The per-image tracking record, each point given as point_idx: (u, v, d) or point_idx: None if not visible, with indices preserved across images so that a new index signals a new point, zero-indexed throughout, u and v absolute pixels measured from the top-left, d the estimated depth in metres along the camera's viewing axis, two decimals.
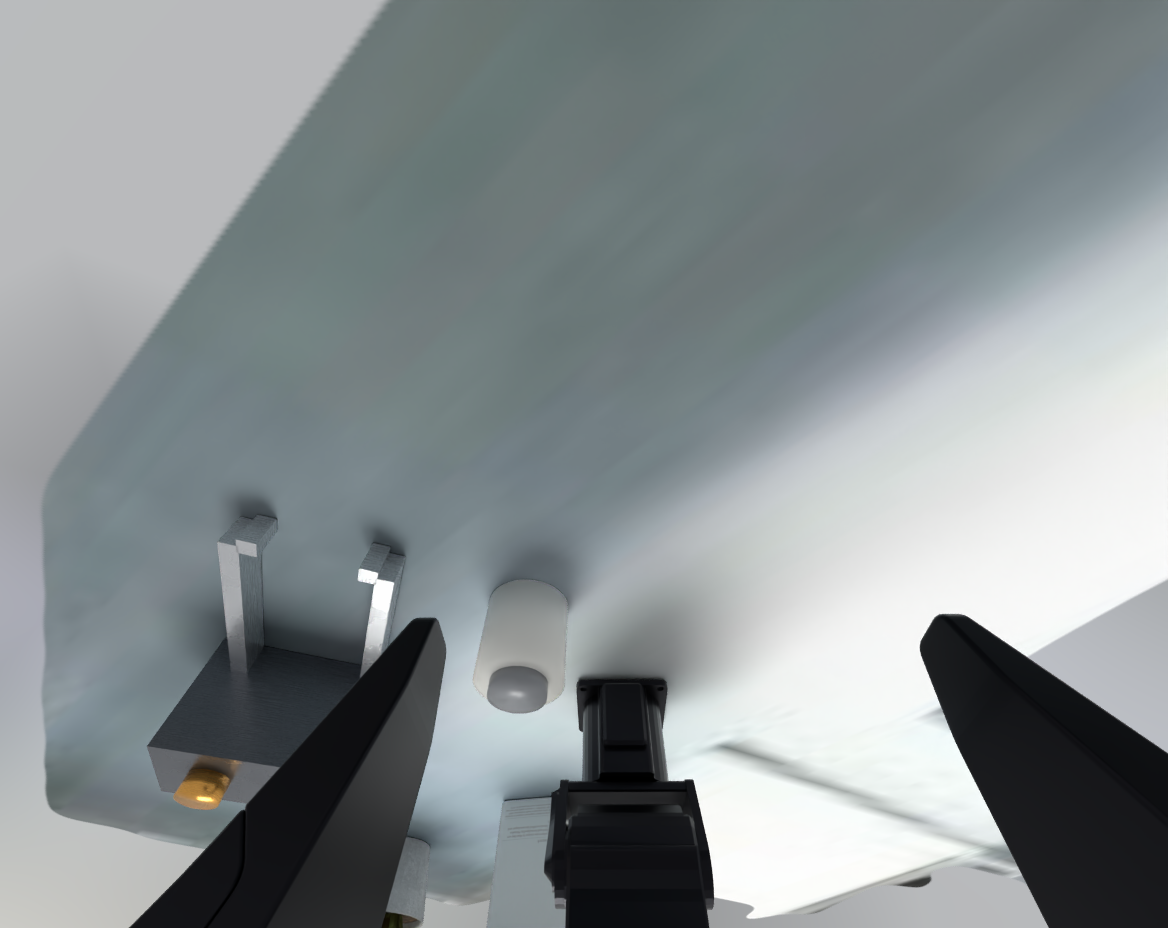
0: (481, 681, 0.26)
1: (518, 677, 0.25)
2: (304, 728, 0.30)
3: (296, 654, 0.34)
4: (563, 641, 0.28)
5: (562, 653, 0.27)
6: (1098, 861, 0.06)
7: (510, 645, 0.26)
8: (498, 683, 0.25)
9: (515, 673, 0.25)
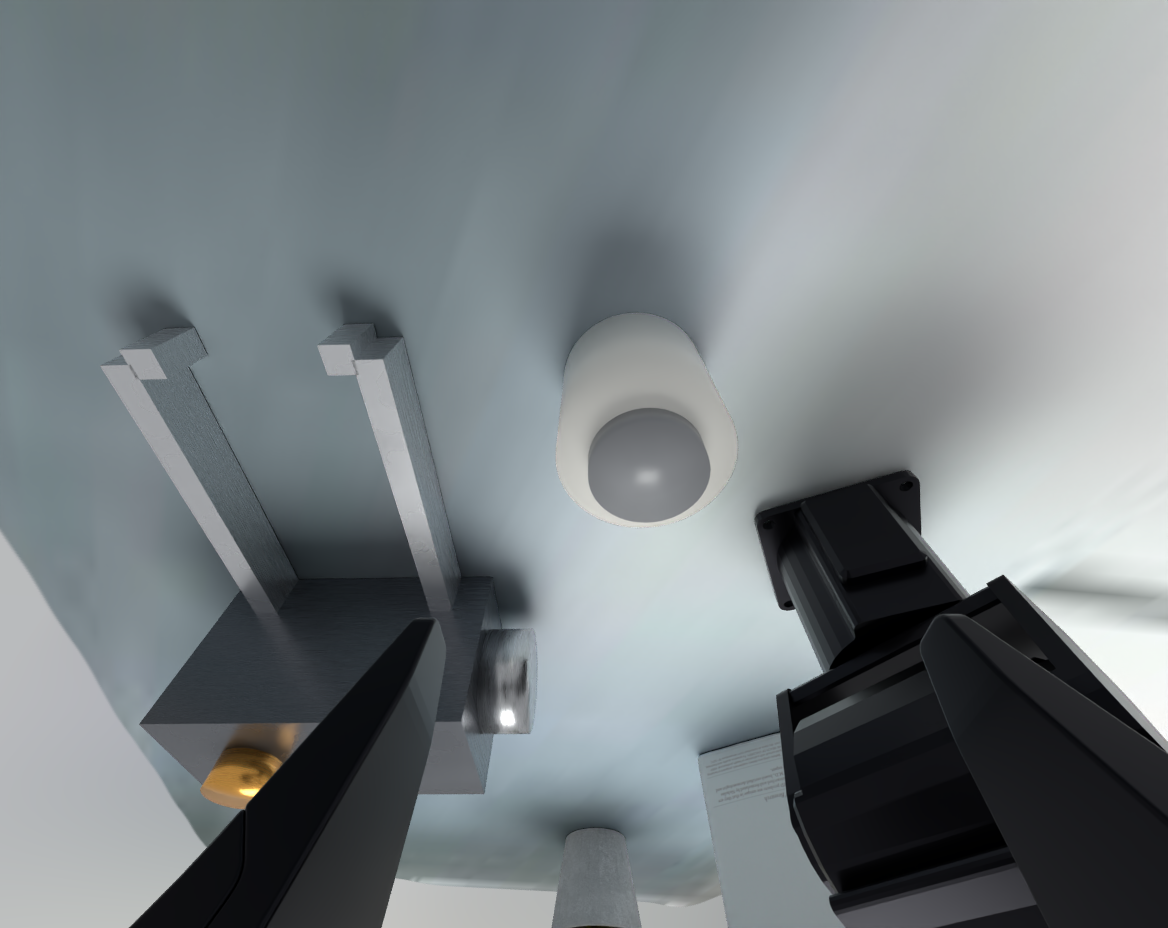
0: (576, 476, 0.14)
1: (637, 421, 0.12)
2: (360, 666, 0.20)
3: (342, 580, 0.24)
4: (708, 375, 0.14)
5: (712, 385, 0.13)
6: (1098, 861, 0.06)
7: (603, 376, 0.13)
8: (601, 447, 0.12)
9: (629, 419, 0.12)
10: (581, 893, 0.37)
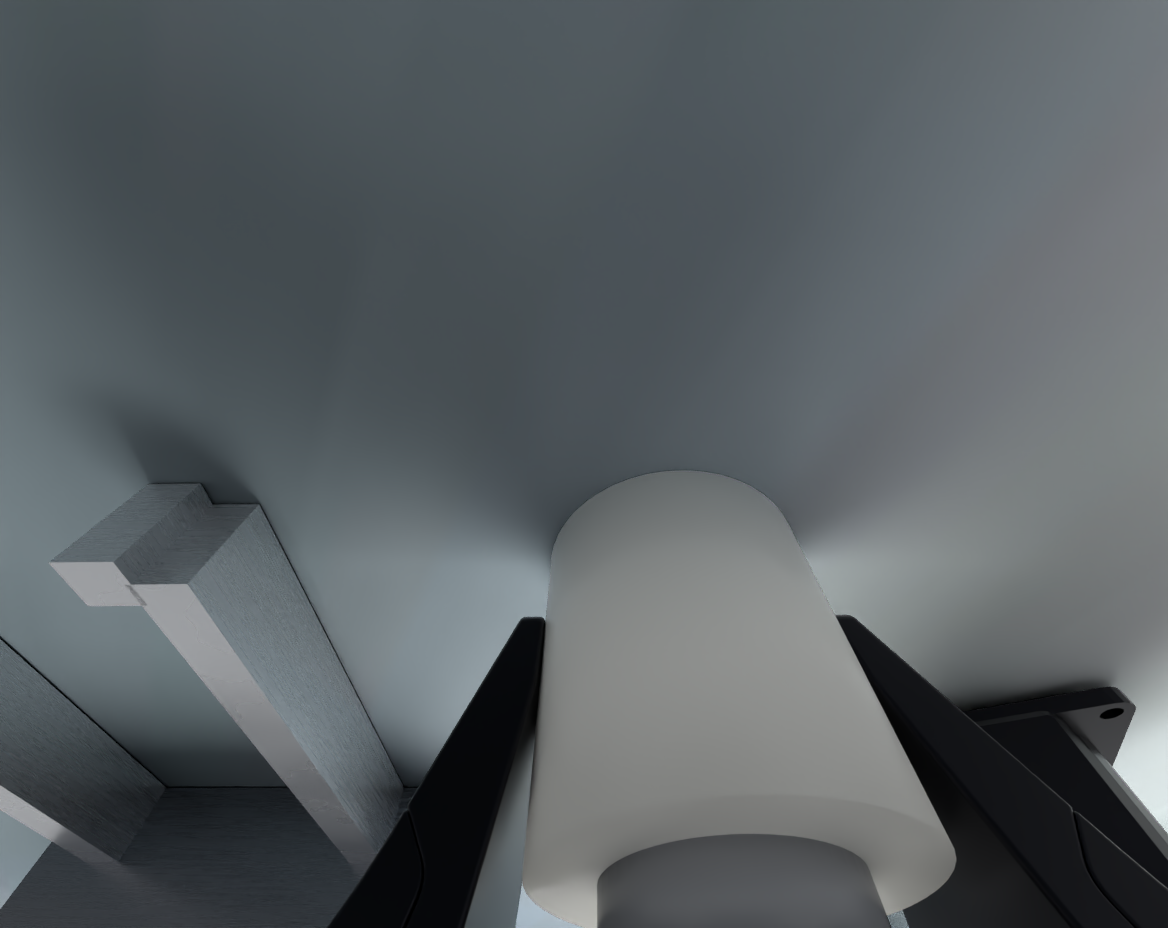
0: (570, 901, 0.06)
1: (730, 920, 0.04)
2: None
3: (228, 791, 0.16)
4: (852, 654, 0.07)
5: (880, 713, 0.06)
6: None
7: (635, 740, 0.05)
8: None
9: (705, 892, 0.05)
10: None
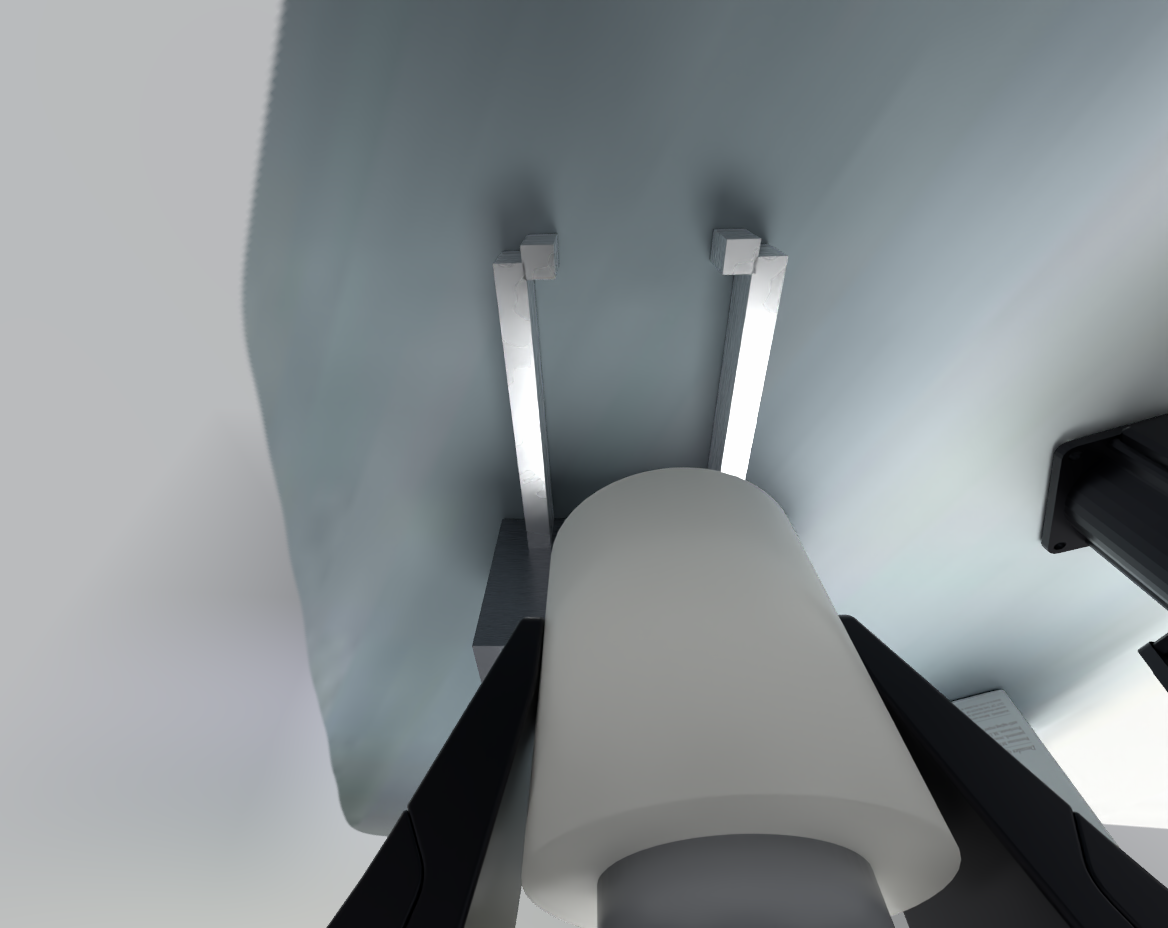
0: (569, 901, 0.06)
1: (732, 921, 0.04)
2: None
3: None
4: (855, 652, 0.07)
5: (884, 712, 0.06)
6: None
7: (636, 738, 0.05)
8: None
9: (707, 893, 0.05)
10: None
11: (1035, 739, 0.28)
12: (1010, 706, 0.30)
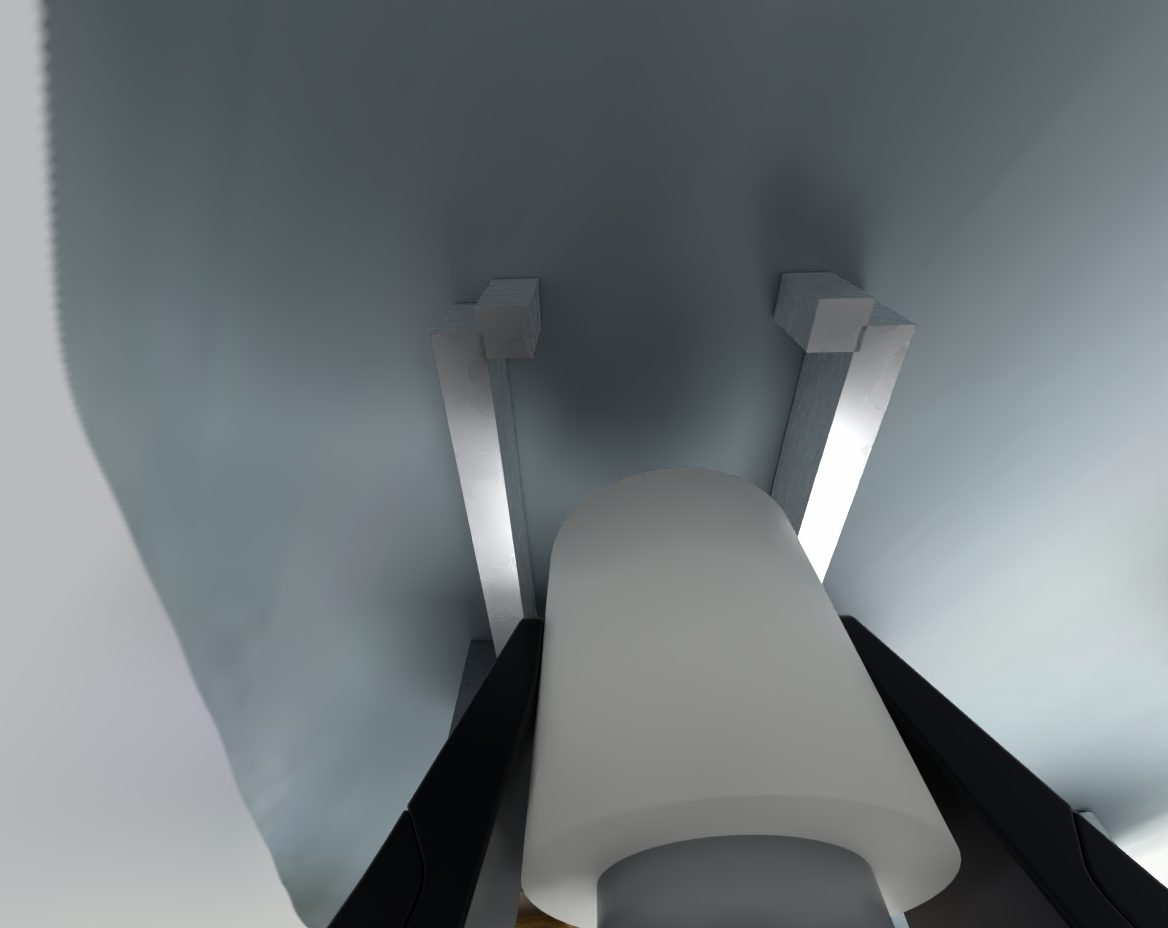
0: (569, 902, 0.06)
1: (731, 922, 0.04)
2: None
3: None
4: (855, 652, 0.07)
5: (883, 713, 0.06)
6: None
7: (635, 740, 0.05)
8: None
9: (707, 894, 0.05)
10: None
11: None
12: None
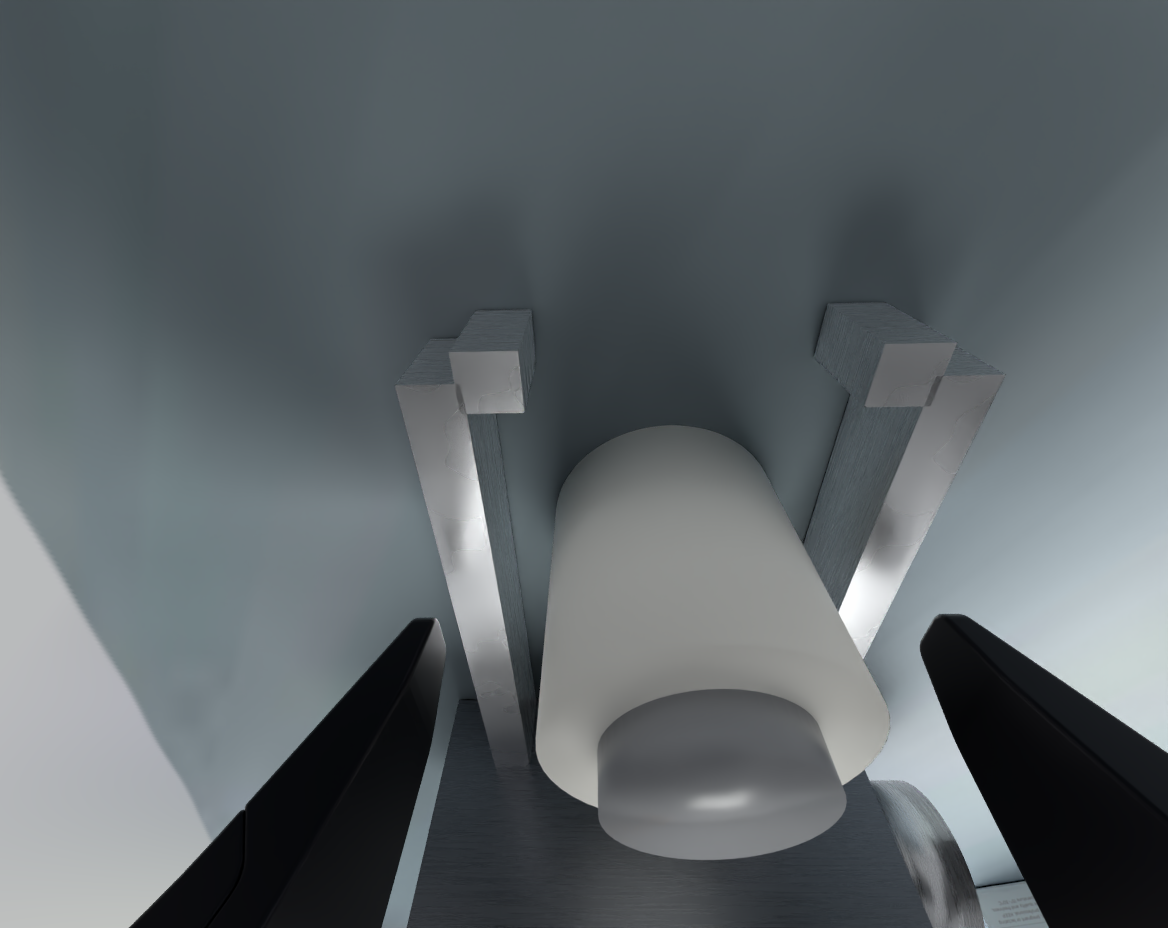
0: (574, 770, 0.07)
1: (702, 744, 0.06)
2: (720, 888, 0.12)
3: None
4: (813, 568, 0.08)
5: (832, 607, 0.07)
6: (1098, 861, 0.06)
7: (628, 617, 0.06)
8: (626, 784, 0.06)
9: (683, 728, 0.06)
10: None
11: None
12: None
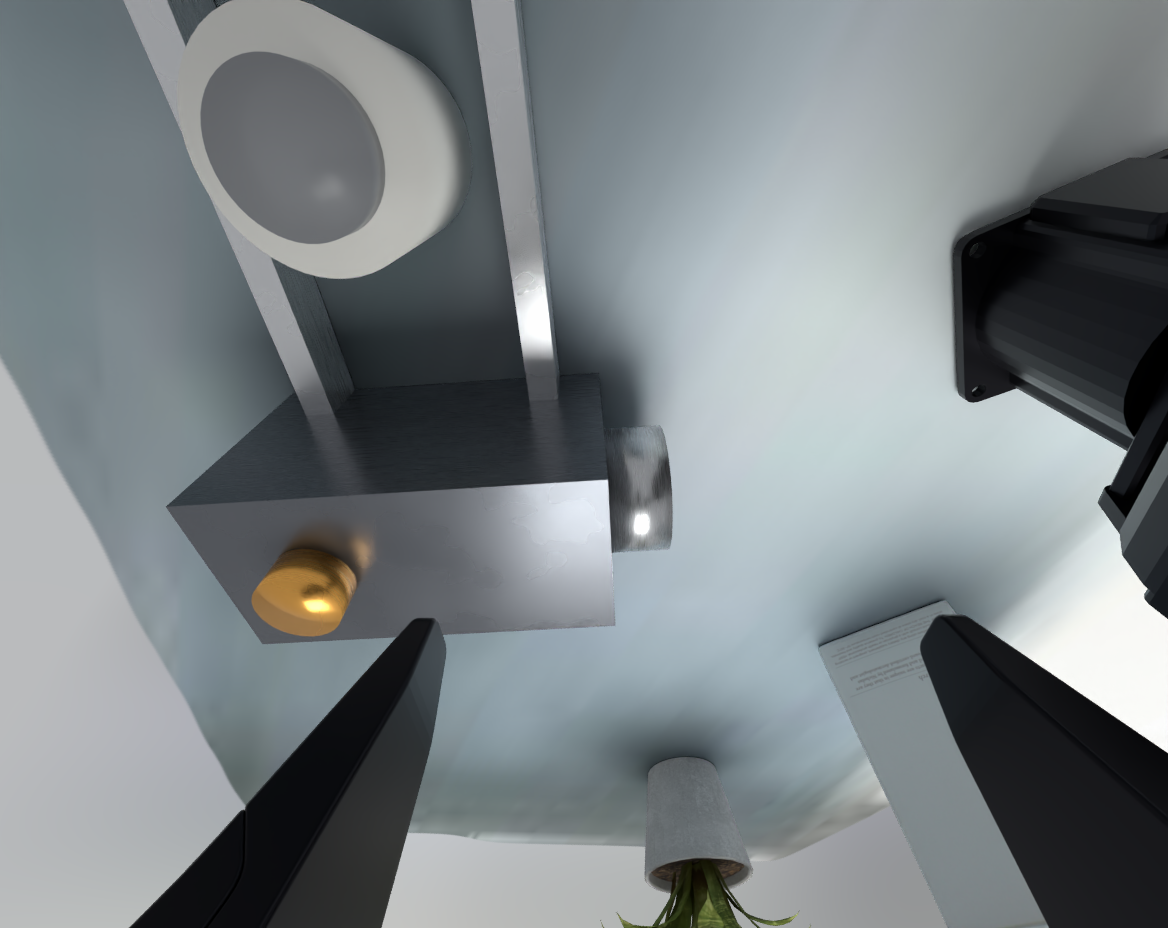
0: None
1: (238, 58, 0.09)
2: (452, 445, 0.15)
3: (409, 387, 0.19)
4: (407, 65, 0.11)
5: (389, 55, 0.10)
6: (1098, 861, 0.06)
7: None
8: (205, 106, 0.09)
9: None
10: (678, 824, 0.32)
11: None
12: None
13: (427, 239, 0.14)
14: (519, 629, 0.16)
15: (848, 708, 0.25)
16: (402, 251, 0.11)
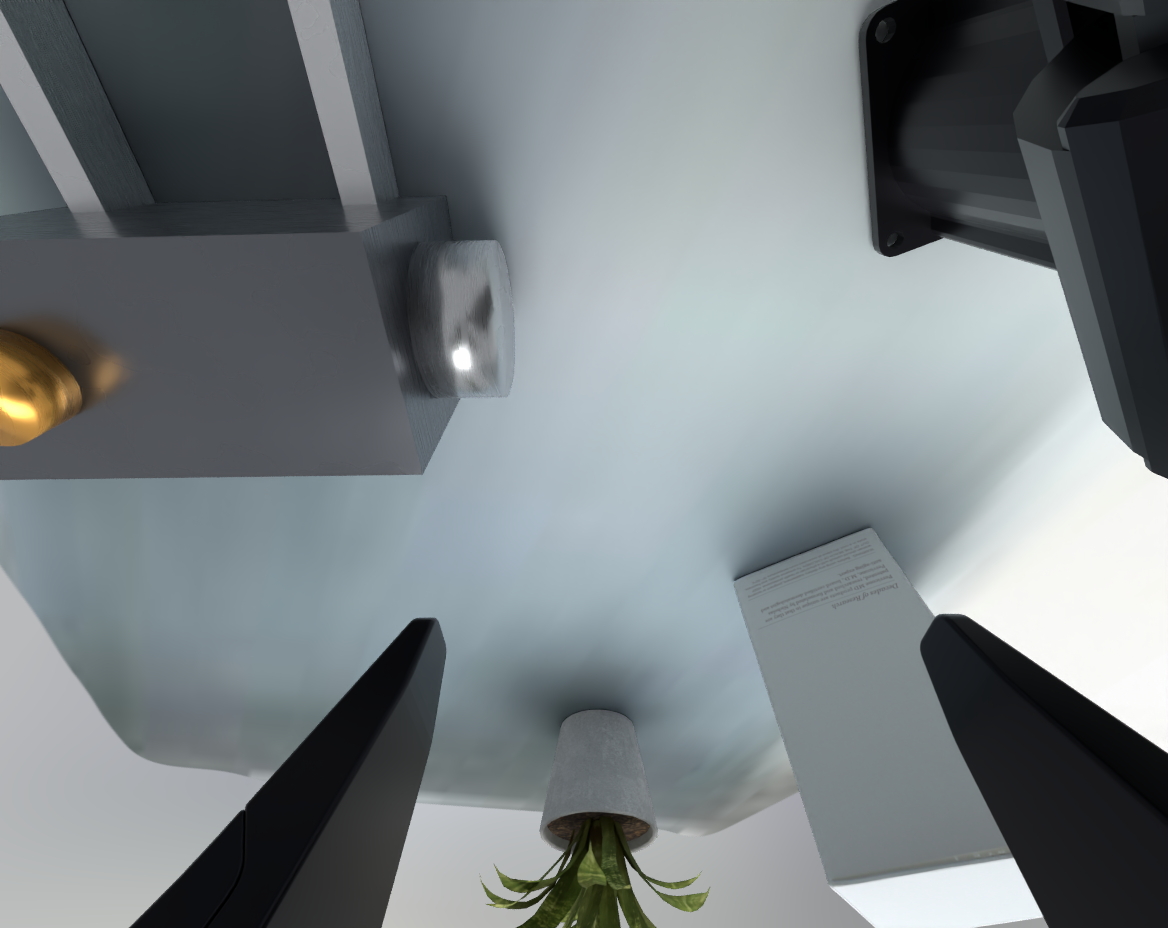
0: None
1: None
2: (208, 220, 0.12)
3: (219, 201, 0.16)
4: None
5: None
6: (1098, 861, 0.06)
7: None
8: None
9: None
10: (579, 777, 0.29)
11: (899, 576, 0.21)
12: (876, 544, 0.22)
13: None
14: (306, 474, 0.13)
15: (754, 641, 0.22)
16: None
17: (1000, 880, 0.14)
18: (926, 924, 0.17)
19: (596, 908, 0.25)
